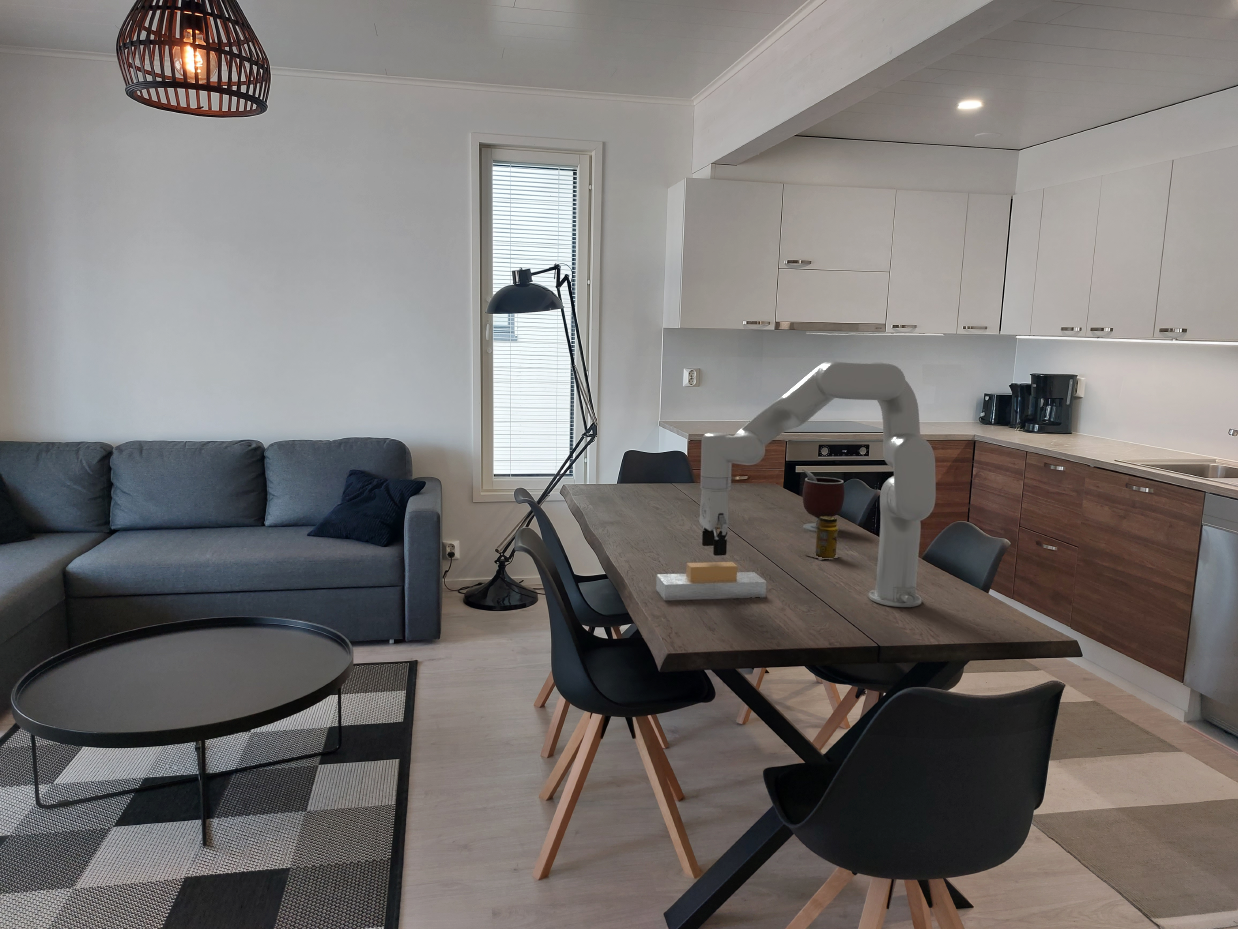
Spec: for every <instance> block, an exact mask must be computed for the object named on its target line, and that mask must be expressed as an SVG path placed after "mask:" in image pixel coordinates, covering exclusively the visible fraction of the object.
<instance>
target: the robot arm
mask: <svg viewBox="0 0 1238 929" xmlns="http://www.w3.org/2000/svg"><path fill="white" fill-rule="evenodd" d="M834 399H843V400H855V401H856V400H861V401H876V402H877V403H878V406H879V407H880V411H881V416H882V435H883V437H882V438H883V439H882V440H883V441H882V443H883V449H882V454H883V459H884V461H885V463H886V464H887V465H888V466H889V467H890V468H892V469H893V475H892V476H891V477H889V478H888V479H887V480H885V482H884V483H883V484H882V487H881V490H880V495H879V510H880V524H879V525H880V526H879V527H880V528H879V539H878V550H877V551H878V552H877V565H876V578H875V579H876V580H875V588H874V589H871V590H870V591H868V598H869V600H871V601H873V602H874V603H877V604H880V605H883V606H889V607H896V608H911V607H912V608H914V607H917V606H920V605H921V604H922V597H921V596H920V595H918V594H917V579H918V578H917V577H918V574H917V573H918V564H919V553H920V552H919V550H920V541H921V530H922V528H921V521H923V520H924V519H926V518H927V517H929V516H930V515H931V513H932V511H933V510H934V509H935V505H936V497H937V496H936V495H937V494H936V493H937V491H936V489H937V488H936V487H937V486H936V457H935V453H934V450H933V447H932V445H931V444H930V443H929V442H928V440H926V439H925V438H923V437H922V436H921V424H920V413H919V412H920V410H919V405H918V404H919V403H918V398H917V397H916V393H915V392H914V389H913V388H912V386H911V385H910V383H909V382H908V381H907V379H906V376H905V374H904V372H903V371H902V369H901V368H899V367H898V365H897V366H896V365H894V364H891V363H884V362H871V363H861V362H859V363H857V362H856V363H855V362H842V361H837V360H835V361H834V360H828V361H824V362H822V363H821V364H819V365H818V366H817V367H815V368H814V369H813V370H811V372H809V373H808V374H807V375H806V376H805V377H804V378H803V379H801V380H800V381H799V382H798V383H797V384H795V385H794V386H793V387H792V388H790V389H789V390H788V391H787V392H786V393H784V394H783V395H782V396H781V397H779V398H778V399H777V400H775V401H773V403H772V404H770V405H769V406H768V407H766V408H765V409H764V410H762V411H761V412H760V413H758V414H757V415H756V416H754V417H753V418H751V420H750V421H748V422H747V423H746V424H745V425H744V426H743V427H742V428H740V429H739V430H738V431H737V432H736V433H735V434H734V435H730V434H728V433H724V432H707V433H705V434H703V435H702V438H701V444H700V445H701V452H700V453H701V454H700V457H701V458H700V487H699V488H700V490H701V493H700V494H701V495H700V503H699V520H698V521H699V524H700V525H701V526H702V532H701V534H702V535H701V536H702V538H701V540H702V541H701V545H702V547H712V548H713V550H712V553H713V556H714V557H715V556H716V557H717V556H718V557H721V556H726V555H727V553H728V552H727V548H728V547H727V545H728V534H729V533H728V528H729V514H730V513H729V510H730V508H729V491H731V489H732V464H737V465H738V464H739V465H746V466H752V465H756V464H758V463H759V462H761V461H762V459H763V458H764V457H765V453H766V446H767V445H768V444H770V443H771V442H772V441H773V440H775V439H776V438H777V437H779V436H780V435H782V434H784V433H786V432H788V431H791V430H794V429H796V428H799V427H800V426H802V425H803V424H806V423H807V422H808V421H809V420H811V418H813V417H814V416H815V415H816V414H817V413H818V412H820V411H821V410H822V409H823V408H824V407H826V406H827V405H828V404H829V403H830V402H832V401H833V400H834Z"/></svg>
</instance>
